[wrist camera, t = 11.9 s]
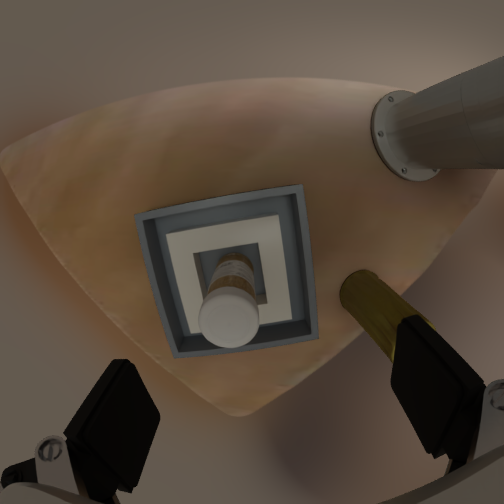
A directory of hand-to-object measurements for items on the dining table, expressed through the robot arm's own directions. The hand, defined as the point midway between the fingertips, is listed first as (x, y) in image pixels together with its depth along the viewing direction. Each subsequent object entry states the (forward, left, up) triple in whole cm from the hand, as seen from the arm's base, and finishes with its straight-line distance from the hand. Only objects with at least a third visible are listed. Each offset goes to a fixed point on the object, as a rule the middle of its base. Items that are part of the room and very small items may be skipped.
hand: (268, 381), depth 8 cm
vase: (-13, +9, -25) cm, 29 cm away
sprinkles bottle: (+2, +3, -24) cm, 24 cm away
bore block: (+3, +3, -24) cm, 25 cm away
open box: (+3, +3, -24) cm, 25 cm away
